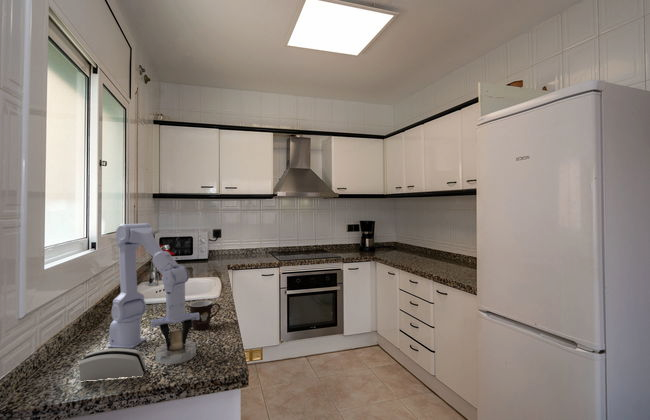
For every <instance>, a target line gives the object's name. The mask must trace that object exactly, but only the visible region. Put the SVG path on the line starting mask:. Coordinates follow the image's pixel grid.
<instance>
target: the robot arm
mask: <svg viewBox="0 0 650 420" xmlns="http://www.w3.org/2000/svg"><path fill="white" fill-rule="evenodd" d="M115 241H116V247H117V248H118V256H119V257H118V261H119V263H118V264H119V283H120V285H119V286H120V293H119V294H118V295H116V297H115V298H114V299H113V300H112V306H111V307H112V308H111V317H112V319H113V320H112V322H111V323H110V326H109V329H108V330H109V332H108V333H109V339H108V340H109V344H108V345H107V347H108V348H124V349H133V348H134V347H136V346H138V345H140V344H142V343H143V342H144V341H146V340H147V337H142V334H141V333H142V330H141V328H142V327H141V325H142V324H141V323H142V321H141V318H143V314H145V313H146V310H147V304H146V301H145V296H144V294H143V293H141V292H139V291H138V277H137V257H136V256H137V255H136V253H137V252H136V250H137V248H138V247H139V246H141V245H142V247H143V248H144V249H145V250H146V251H147V252H148V253H149V254H150V255H151V256H152V262H151V263H152V264H153V265H154V267H156V268H157V270H158V271H159V273H160V274H161V275H162V276H161V282H162V284H163V287H164V288H163V289H164V292H165V301H166V302H165V308H166V309H165V310H166V313H165V315H166V316H163V317H161V318H160V317H159V318H156V319H152V320H151V319H150V328H151V329H154V328H156V327H159V329H160V331H161V332H162V334H163V336H164V339H165V344H166V346H167V348H168V347H170V343H169V332H170V325H172V324H179V323H182V330H183V344H186V340H187V338H188V336H189V332H190V329H191V327H193V326H192V320H199V313H191V312H190V313H186V283H187V282H188V281H189V278H190V273H189V270H188V269H187V267H186V266H185V265H182V264H179V263H178V262H177V261H176V260H175V259H174V257H173V256H172V254H171V253H170V252H169V251H166V250H163V249H162V247H161V246H160V244H159V242H158V241H157V240H156V238H155V236H154V229H153V228H152V226H151V225H150V224H149V223H148V222H143V223H128V224H127V223H126V224H125V223H121V224H119V226H118V227H117V228H116V230H115Z"/></svg>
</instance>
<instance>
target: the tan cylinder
mask: <svg viewBox="0 0 650 420" xmlns="http://www.w3.org/2000/svg"><path fill="white" fill-rule="evenodd" d="M169 343H170V347H169V351H179V350H181V349H183V328H174V329H171V330H169Z"/></svg>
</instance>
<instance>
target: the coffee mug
mask: <svg viewBox="0 0 650 420" xmlns="http://www.w3.org/2000/svg"><path fill="white" fill-rule="evenodd" d="M214 306H217V307H218V308H217V310H216V312H215V313H213V314H212V308H213V307H214ZM189 309H190V310H189V311H190V313H199V320H192V326H191V327H192V330H193V331H197V332H198V331H200V332H202V331H205V330H208V329H209V328H210V324H211V319H212V318H213V317H215V316H216V315H217V314H218V313H219V311H220V309H221V306H220V304H219V303H216V302H215V303H213V302H212V300H197V301H193V302H191V303H189ZM211 315H212V316H211Z"/></svg>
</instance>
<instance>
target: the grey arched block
mask: <svg viewBox="0 0 650 420" xmlns="http://www.w3.org/2000/svg"><path fill="white" fill-rule="evenodd" d="M78 367H79V380H80V381H84V380H98V379H107V378H119V377H132V376H142V375H143V374H144V373H145V372H147V370H146V369H147V368H148V369H149V367H148V364H146V363H145V359H144V356H143V354H142V352H141V351H140V350H138V349H133V348H119V347H111V348H105V349H100V350H99V349H98V350H96V351H92V352H89V353H87V354H85V356H84V357H83V358H82V359H81V360H80V362H79V364H78ZM144 375H145V374H144ZM80 381H79V382H80Z"/></svg>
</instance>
